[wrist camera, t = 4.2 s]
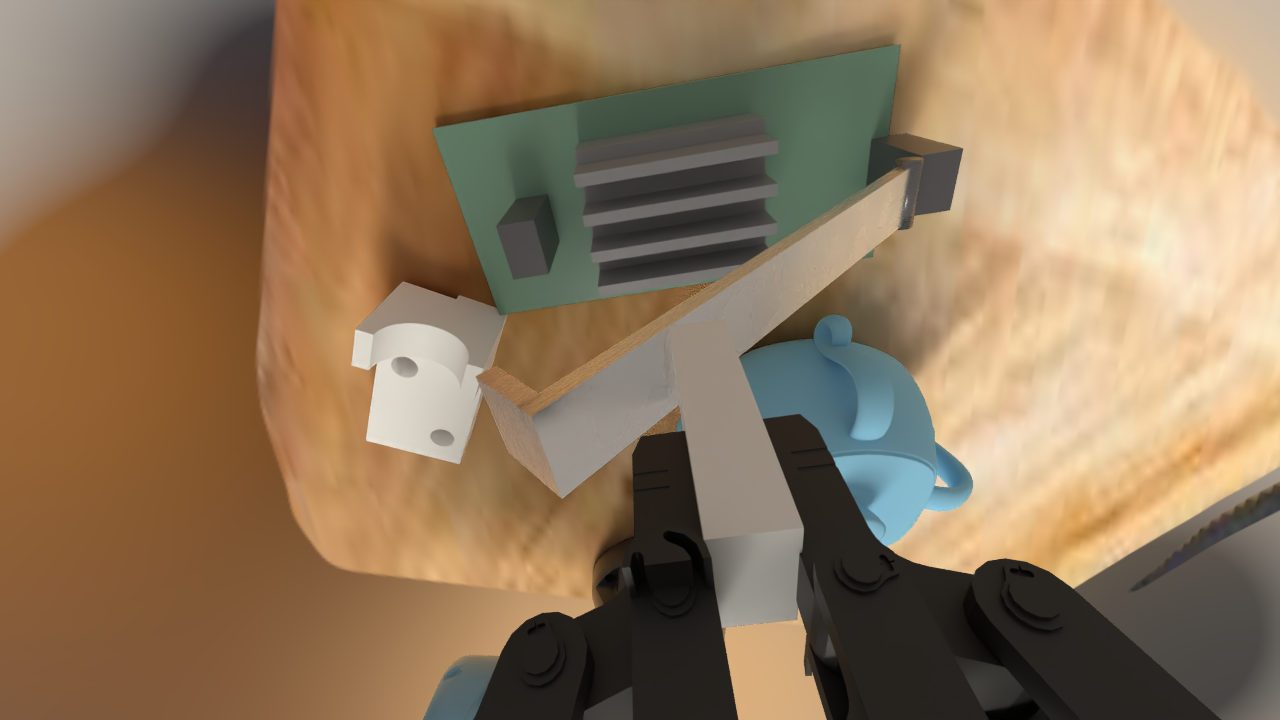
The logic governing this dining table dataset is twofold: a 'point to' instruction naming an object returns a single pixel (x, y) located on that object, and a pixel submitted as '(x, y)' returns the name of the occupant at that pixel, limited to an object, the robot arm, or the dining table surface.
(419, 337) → the bracket
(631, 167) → the heatsink board
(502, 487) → the dining table surface
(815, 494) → the robot arm
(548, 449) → the strap
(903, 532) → the decorative pot
